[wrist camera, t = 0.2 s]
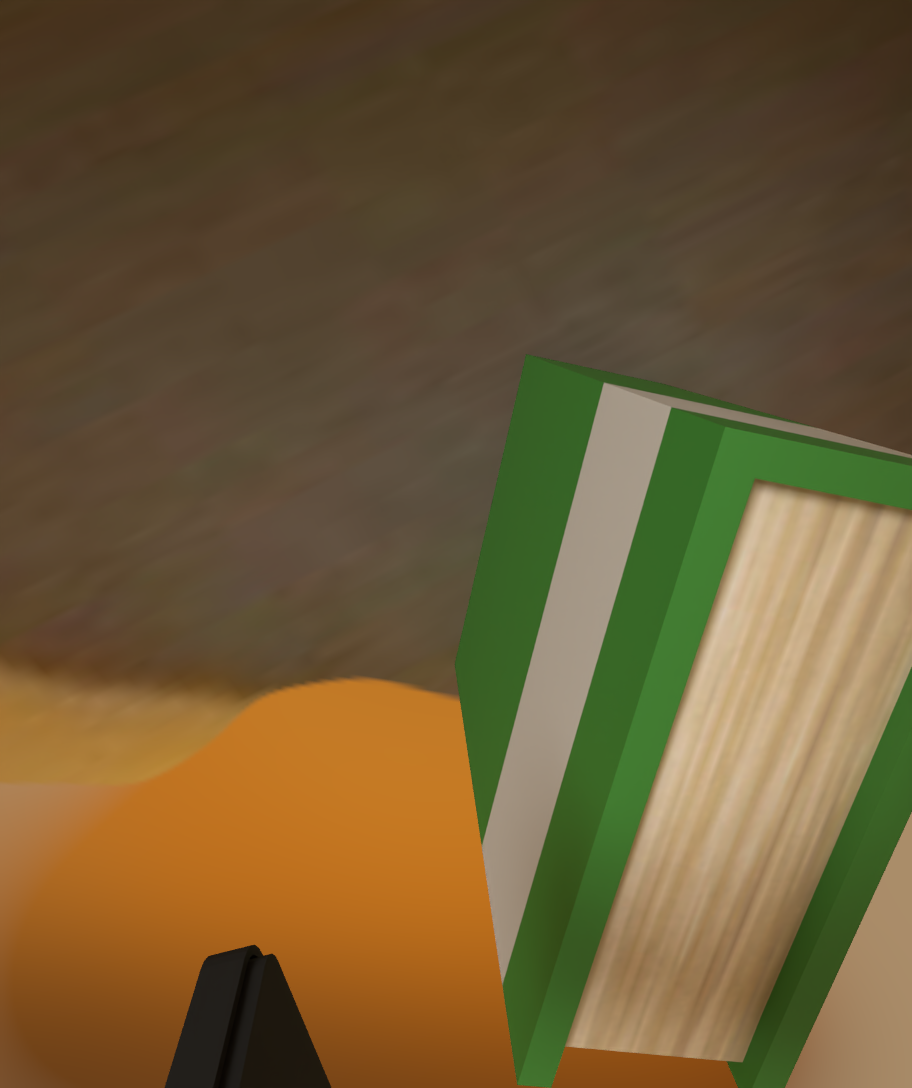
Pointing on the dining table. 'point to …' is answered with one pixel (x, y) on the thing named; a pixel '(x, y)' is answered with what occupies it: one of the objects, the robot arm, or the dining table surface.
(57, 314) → the dining table surface
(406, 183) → the dining table surface
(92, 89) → the dining table surface
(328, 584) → the dining table surface
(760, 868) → the hardback book
